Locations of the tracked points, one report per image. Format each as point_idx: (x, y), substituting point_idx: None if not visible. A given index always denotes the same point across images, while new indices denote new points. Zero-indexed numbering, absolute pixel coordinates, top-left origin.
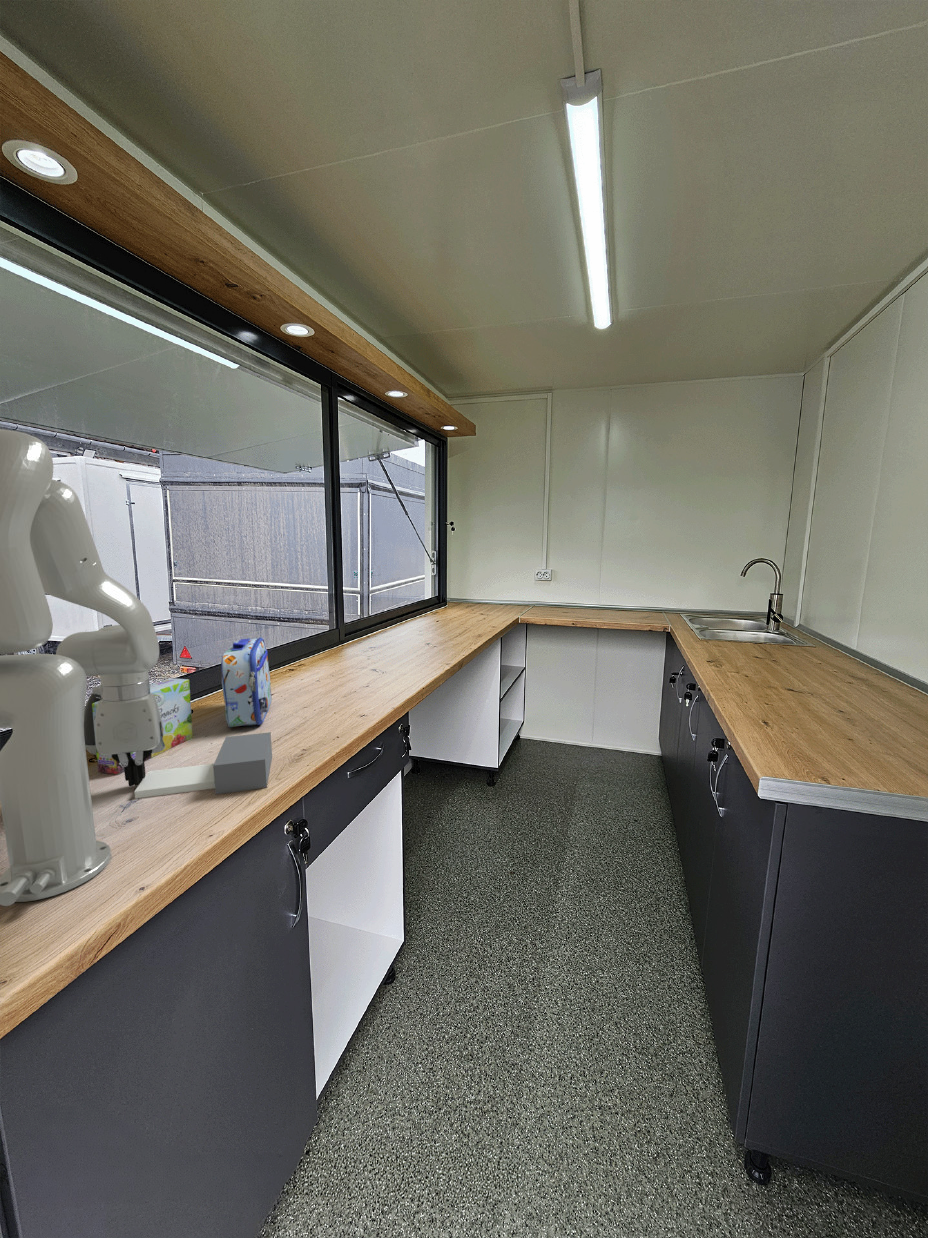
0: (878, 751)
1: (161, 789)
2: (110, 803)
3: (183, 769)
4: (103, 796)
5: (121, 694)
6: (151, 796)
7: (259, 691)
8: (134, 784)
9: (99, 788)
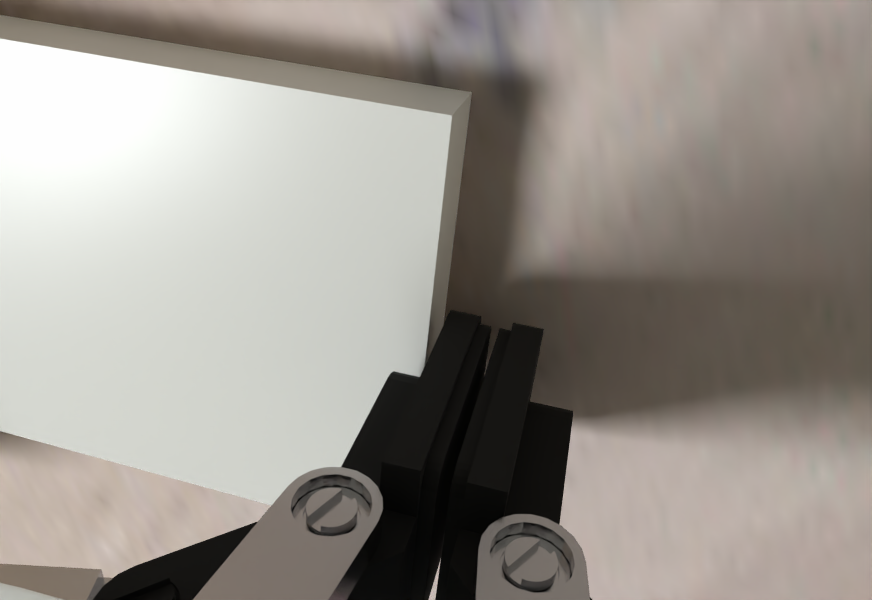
0: None
1: (177, 61)
2: (727, 92)
3: (117, 422)
4: (801, 322)
5: None
6: (313, 67)
7: None
8: (487, 329)
9: (833, 516)
